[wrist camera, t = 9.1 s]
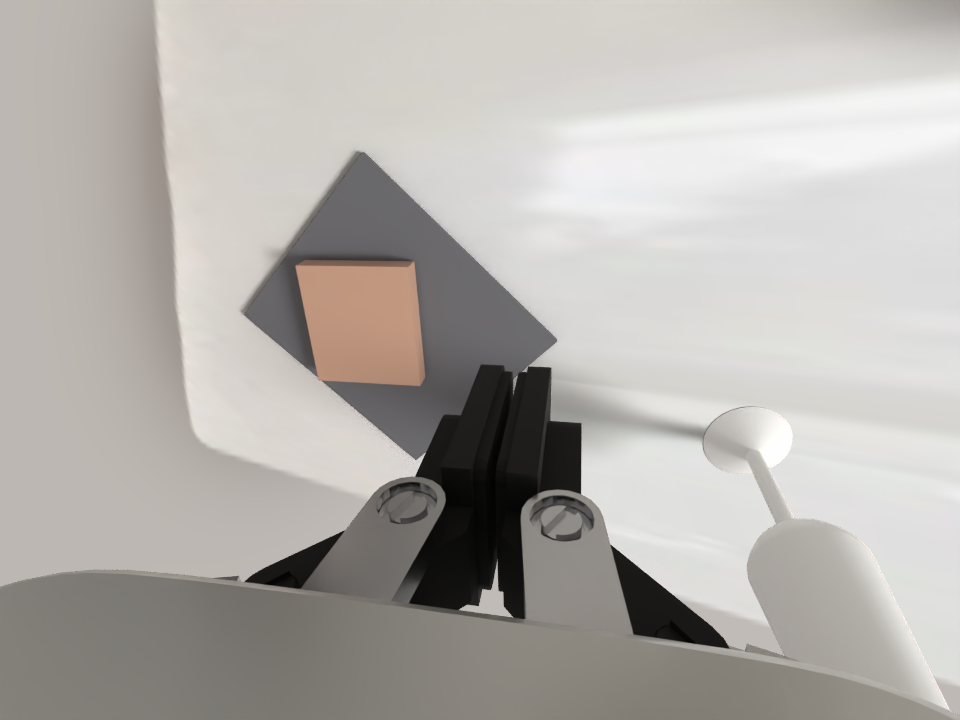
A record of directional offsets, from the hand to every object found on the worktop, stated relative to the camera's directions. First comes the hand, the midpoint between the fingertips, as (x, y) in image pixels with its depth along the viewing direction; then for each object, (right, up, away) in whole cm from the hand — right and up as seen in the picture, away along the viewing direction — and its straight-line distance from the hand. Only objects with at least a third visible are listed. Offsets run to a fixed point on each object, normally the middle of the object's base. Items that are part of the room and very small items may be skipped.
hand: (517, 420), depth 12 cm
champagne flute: (+21, -5, +29) cm, 36 cm away
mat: (-8, +4, +30) cm, 32 cm away
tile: (-6, +4, +28) cm, 29 cm away
